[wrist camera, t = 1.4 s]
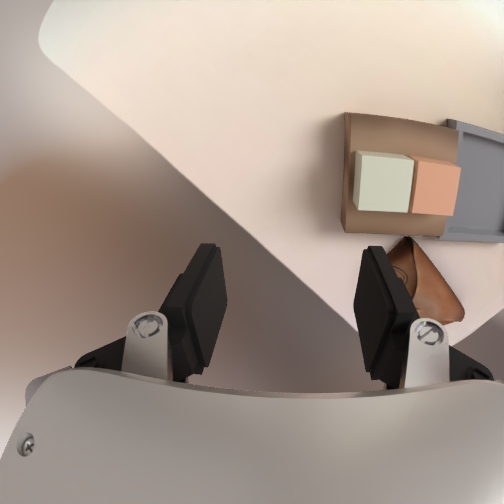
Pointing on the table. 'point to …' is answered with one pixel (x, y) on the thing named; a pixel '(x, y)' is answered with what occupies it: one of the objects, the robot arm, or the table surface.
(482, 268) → the table surface
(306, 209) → the table surface
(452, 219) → the tray
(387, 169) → the pale green rectangular block
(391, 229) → the brown square slab
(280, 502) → the robot arm
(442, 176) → the tile
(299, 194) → the table surface
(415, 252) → the sunglasses case
